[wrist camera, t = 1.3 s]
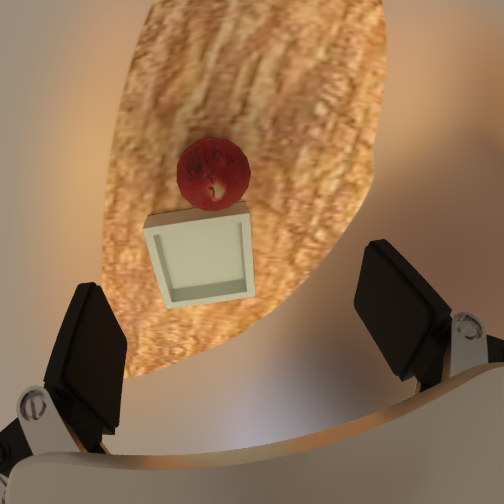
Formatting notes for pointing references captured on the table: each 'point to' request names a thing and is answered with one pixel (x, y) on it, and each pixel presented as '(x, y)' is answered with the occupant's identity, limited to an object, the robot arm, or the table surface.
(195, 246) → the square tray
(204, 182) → the onion
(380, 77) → the table surface
